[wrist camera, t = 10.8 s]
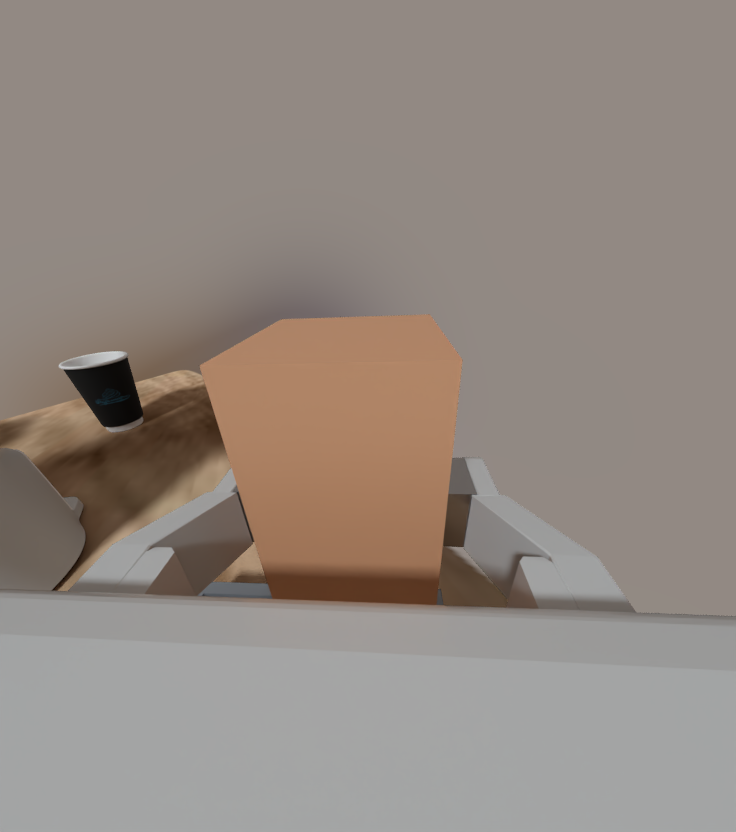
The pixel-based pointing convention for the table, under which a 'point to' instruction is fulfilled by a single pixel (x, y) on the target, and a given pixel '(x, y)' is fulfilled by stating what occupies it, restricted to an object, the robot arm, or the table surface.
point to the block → (342, 452)
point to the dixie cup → (107, 388)
